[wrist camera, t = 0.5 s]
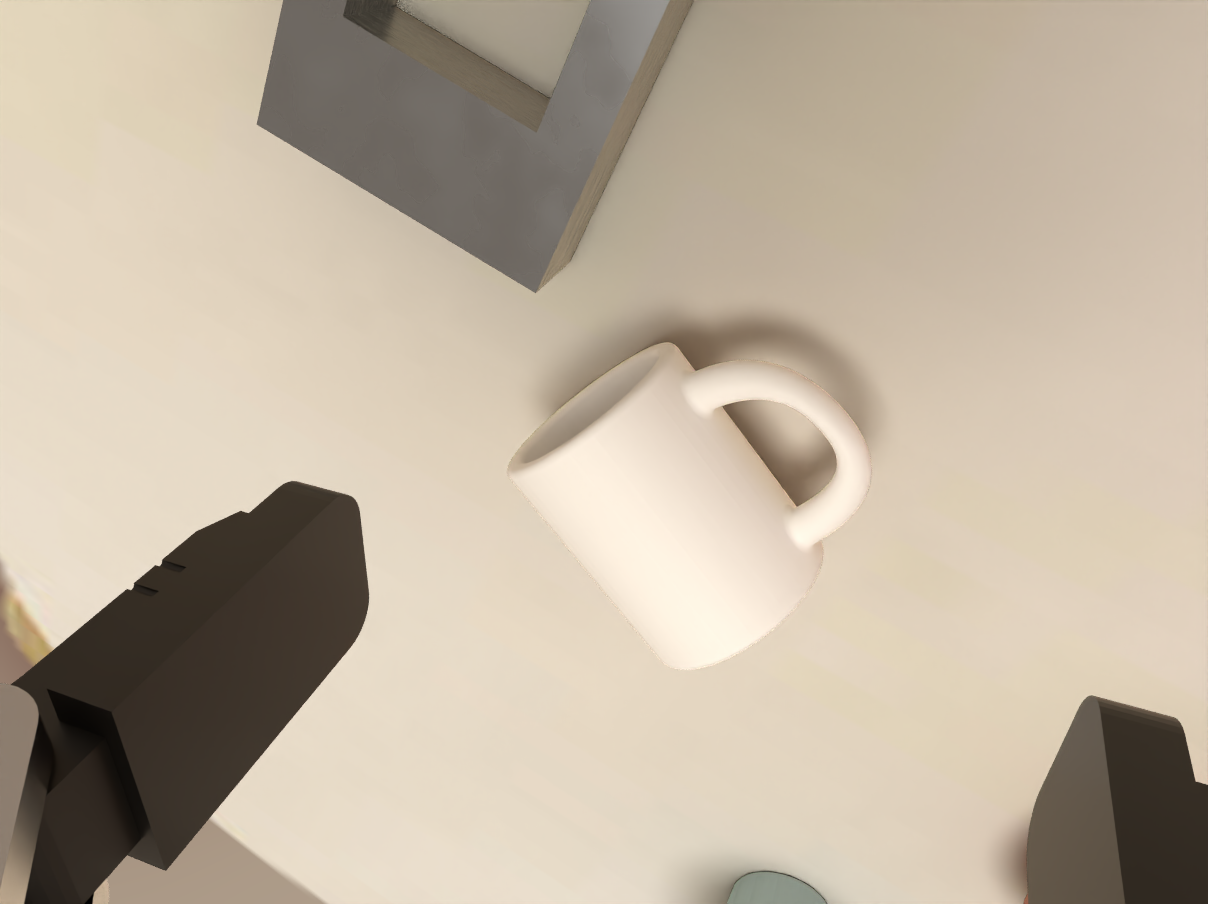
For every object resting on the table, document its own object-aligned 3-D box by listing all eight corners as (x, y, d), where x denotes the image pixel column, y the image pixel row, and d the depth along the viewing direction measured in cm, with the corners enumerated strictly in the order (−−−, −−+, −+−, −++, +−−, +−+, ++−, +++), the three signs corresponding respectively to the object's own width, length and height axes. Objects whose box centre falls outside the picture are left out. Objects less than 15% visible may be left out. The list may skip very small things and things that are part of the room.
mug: (687, 575, 43) (636, 697, 36) (552, 405, 41) (471, 503, 34) (927, 466, 36) (917, 591, 30) (781, 257, 34) (737, 343, 28)
